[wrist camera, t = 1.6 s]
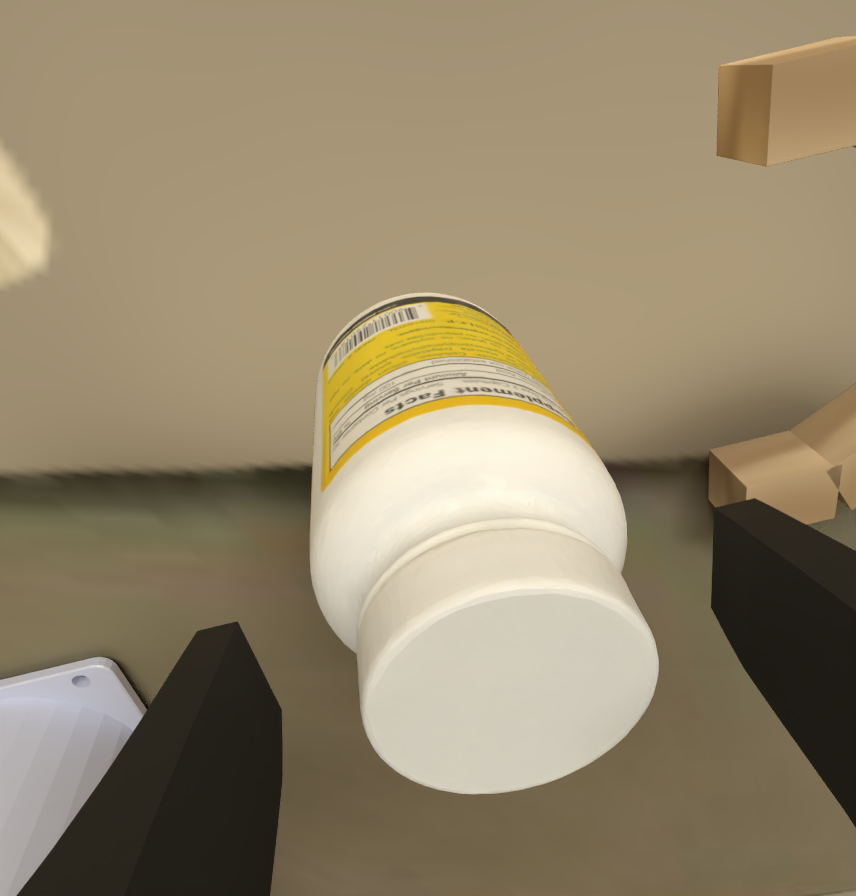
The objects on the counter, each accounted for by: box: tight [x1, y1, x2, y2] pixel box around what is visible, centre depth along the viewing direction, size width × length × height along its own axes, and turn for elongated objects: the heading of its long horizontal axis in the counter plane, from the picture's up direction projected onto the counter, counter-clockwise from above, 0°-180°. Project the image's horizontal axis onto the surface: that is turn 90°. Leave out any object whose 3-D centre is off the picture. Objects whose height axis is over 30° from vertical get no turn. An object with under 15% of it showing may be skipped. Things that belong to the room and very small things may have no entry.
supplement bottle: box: [310, 293, 659, 794], centre depth 13 cm, size 5×5×10 cm
